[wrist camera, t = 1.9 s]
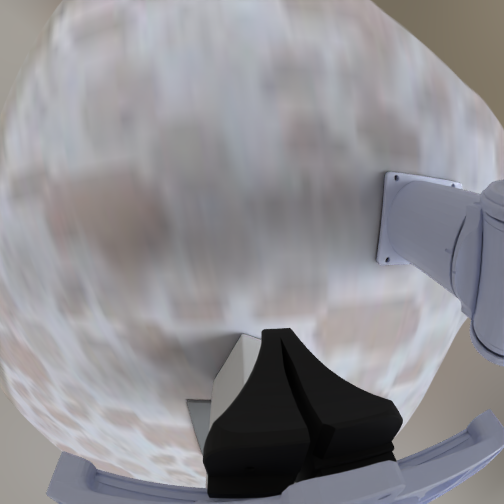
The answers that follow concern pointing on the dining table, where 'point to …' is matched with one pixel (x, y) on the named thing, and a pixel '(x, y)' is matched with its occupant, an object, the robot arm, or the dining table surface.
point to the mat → (200, 419)
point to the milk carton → (233, 376)
